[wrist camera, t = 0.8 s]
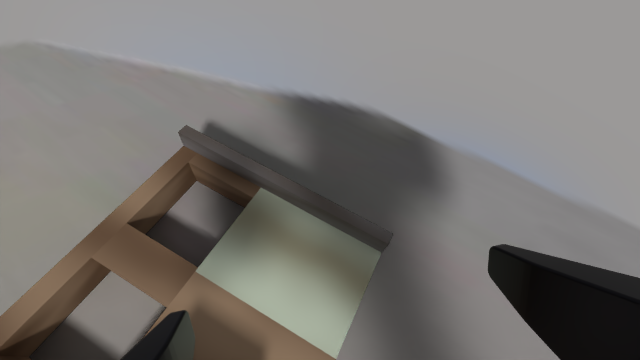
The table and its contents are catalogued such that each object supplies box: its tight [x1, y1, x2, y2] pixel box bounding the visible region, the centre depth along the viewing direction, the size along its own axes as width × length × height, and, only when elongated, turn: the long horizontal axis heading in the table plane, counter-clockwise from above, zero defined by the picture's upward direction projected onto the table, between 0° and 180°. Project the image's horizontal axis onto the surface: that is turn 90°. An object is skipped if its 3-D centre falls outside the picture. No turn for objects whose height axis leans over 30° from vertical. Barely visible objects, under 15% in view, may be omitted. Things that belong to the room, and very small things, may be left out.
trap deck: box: [0, 125, 393, 360], centre depth 17 cm, size 18×16×4 cm
